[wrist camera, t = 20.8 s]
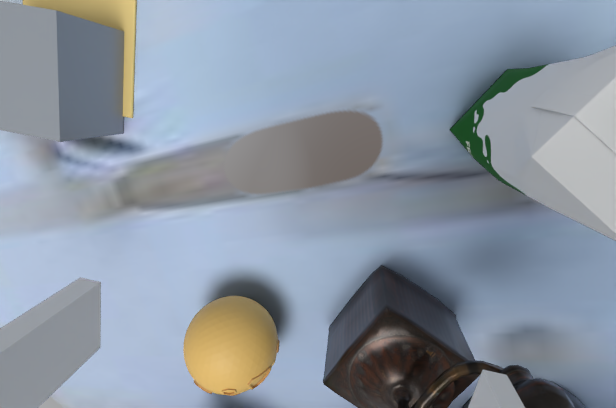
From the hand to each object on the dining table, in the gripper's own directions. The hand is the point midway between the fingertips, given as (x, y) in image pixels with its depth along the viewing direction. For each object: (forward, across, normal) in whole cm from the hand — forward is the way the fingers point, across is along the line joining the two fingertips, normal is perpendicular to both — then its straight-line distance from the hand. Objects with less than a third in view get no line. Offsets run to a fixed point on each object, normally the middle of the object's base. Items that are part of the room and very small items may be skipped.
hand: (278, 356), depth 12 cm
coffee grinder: (+27, -11, +12) cm, 32 cm away
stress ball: (+27, +7, +18) cm, 33 cm away
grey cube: (+27, +28, -6) cm, 39 cm away
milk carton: (+27, -15, -9) cm, 32 cm away
